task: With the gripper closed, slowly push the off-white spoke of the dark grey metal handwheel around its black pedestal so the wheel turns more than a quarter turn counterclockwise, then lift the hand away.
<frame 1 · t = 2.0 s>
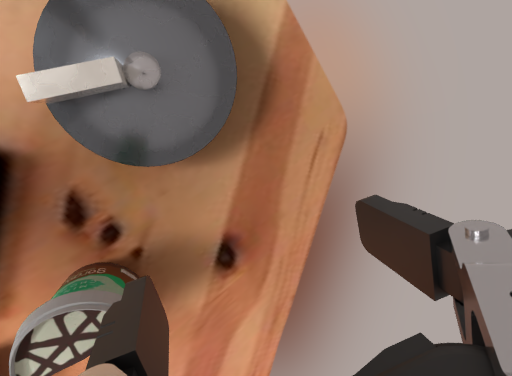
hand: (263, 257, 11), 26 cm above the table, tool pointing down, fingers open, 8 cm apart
food container: (90, 280, 36), on the table
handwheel: (142, 70, 26), point 7 cm above the table, hinge at 0.0°
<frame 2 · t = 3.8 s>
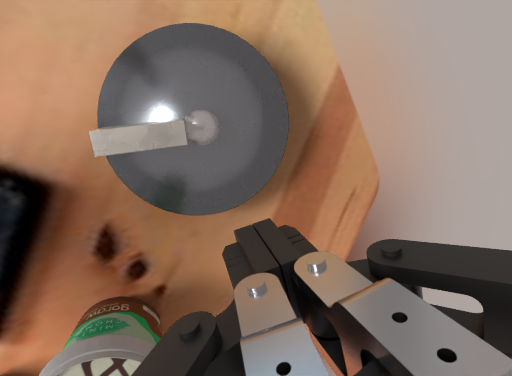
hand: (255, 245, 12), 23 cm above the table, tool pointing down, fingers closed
food container: (109, 312, 36), on the table
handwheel: (201, 127, 27), point 7 cm above the table, hinge at 0.0°
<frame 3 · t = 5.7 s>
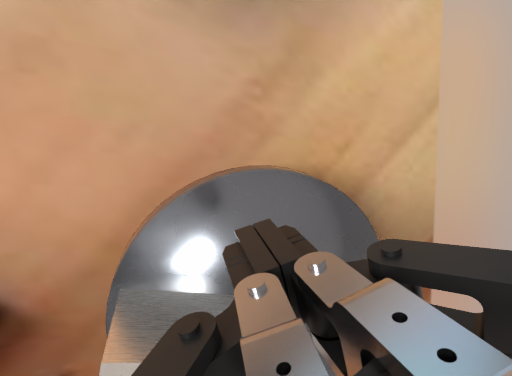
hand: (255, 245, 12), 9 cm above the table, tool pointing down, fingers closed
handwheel: (270, 329, 17), point 7 cm above the table, hinge at 0.0°
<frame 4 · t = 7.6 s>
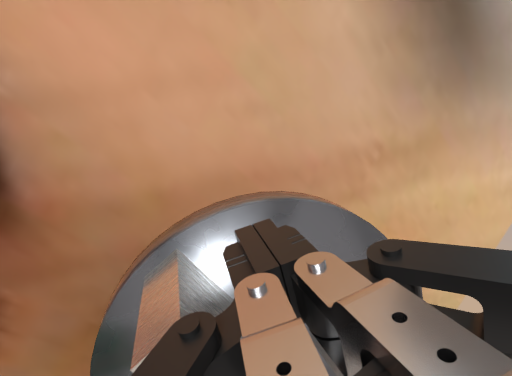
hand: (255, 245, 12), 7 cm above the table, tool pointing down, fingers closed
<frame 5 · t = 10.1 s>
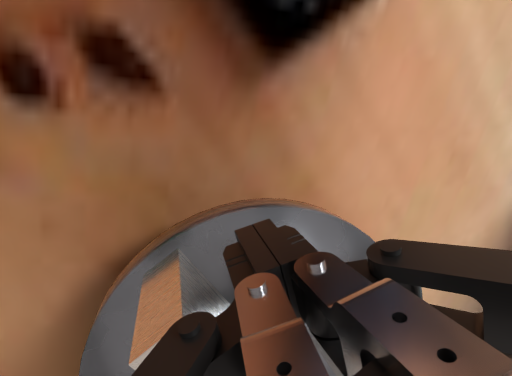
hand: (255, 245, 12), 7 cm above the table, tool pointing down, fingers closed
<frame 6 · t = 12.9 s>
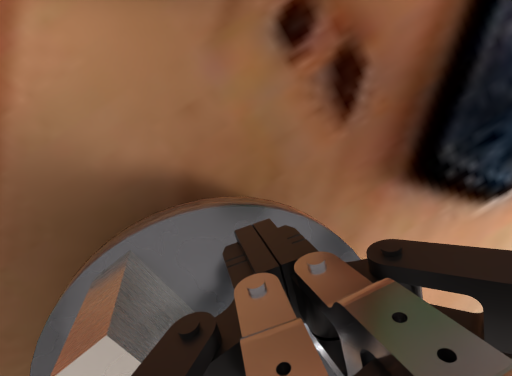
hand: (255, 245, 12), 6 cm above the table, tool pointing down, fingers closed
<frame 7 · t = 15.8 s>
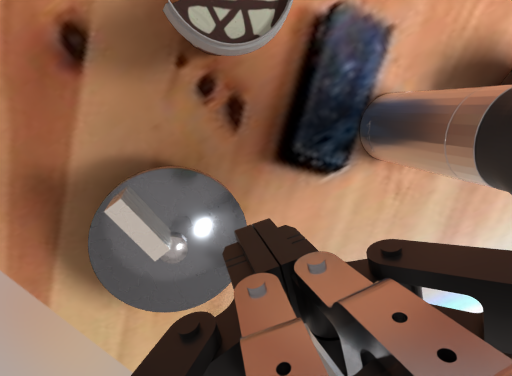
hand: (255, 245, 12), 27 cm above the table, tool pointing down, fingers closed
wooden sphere: (506, 102, 48), on the table
food container: (227, 35, 36), on the table
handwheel: (173, 251, 33), point 7 cm above the table, hinge at 111.3°
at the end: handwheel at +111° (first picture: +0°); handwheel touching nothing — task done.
